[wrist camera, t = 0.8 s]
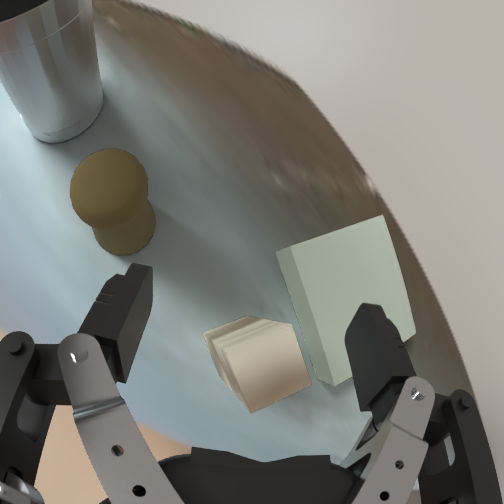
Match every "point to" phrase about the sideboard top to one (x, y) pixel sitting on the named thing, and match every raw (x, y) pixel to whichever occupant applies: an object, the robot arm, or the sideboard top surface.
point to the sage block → (343, 290)
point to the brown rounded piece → (114, 200)
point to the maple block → (258, 360)
